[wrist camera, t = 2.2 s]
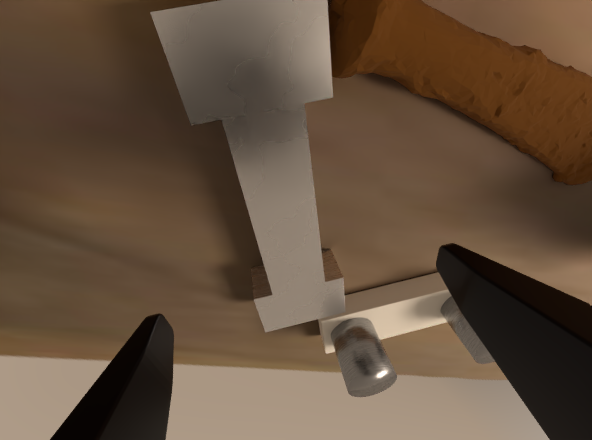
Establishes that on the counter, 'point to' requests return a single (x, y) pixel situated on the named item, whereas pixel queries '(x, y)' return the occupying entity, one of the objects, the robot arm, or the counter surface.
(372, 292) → the peg rack
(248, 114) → the spanner
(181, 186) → the counter surface
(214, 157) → the counter surface
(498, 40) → the primitive tool
